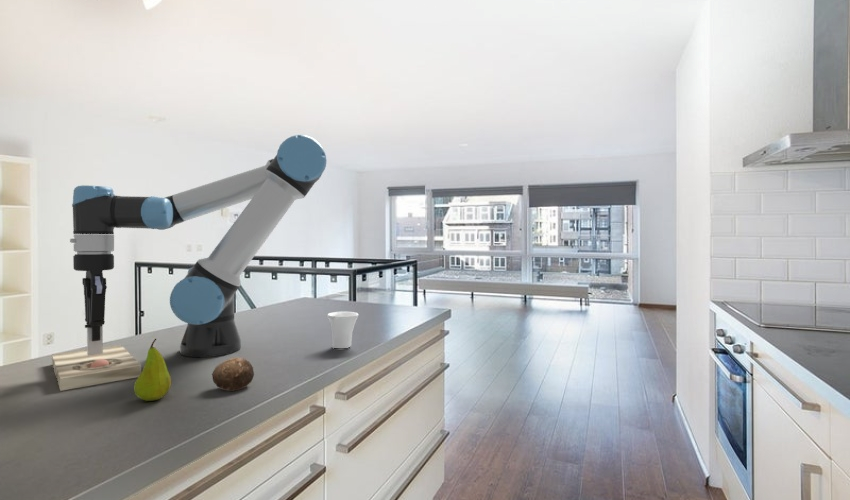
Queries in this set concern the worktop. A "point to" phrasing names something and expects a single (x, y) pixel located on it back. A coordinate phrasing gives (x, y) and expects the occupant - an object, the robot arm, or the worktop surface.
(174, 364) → the worktop surface
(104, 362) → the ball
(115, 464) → the worktop surface
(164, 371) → the fruit
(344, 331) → the cup
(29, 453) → the worktop surface
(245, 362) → the brown potato
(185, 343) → the robot arm
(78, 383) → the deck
